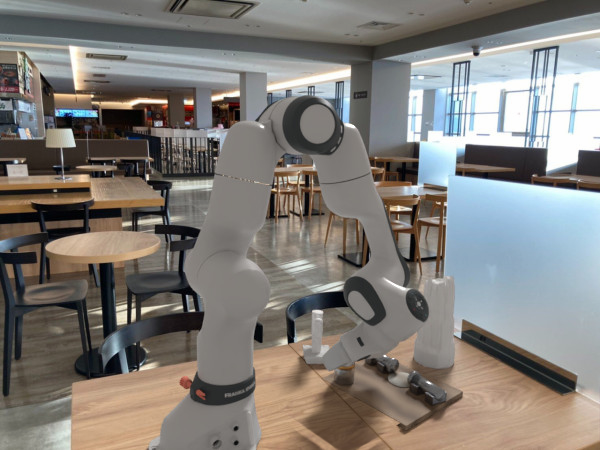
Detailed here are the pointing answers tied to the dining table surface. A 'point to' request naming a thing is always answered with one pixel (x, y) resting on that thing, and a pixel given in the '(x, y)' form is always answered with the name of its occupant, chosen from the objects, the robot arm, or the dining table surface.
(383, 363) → the far steel shaft
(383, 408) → the walnut base board
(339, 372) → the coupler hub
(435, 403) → the near steel shaft
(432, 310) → the decorative vase
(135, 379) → the dining table surface
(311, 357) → the white peg on base
